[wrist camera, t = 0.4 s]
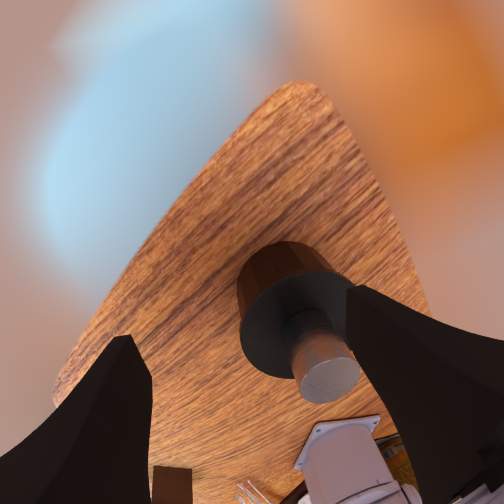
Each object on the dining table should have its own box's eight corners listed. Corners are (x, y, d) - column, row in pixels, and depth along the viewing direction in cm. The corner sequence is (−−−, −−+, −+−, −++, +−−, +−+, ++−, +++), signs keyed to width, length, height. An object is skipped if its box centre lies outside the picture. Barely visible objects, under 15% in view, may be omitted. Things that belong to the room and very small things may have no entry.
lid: (338, 366, 19) (368, 422, 14) (230, 365, 17) (239, 433, 13) (372, 268, 16) (423, 314, 12) (249, 255, 15) (267, 309, 10)
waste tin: (315, 327, 22) (338, 368, 18) (230, 322, 21) (237, 368, 17) (338, 247, 20) (371, 277, 16) (244, 235, 19) (255, 266, 15)
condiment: (397, 455, 34) (428, 514, 23) (347, 469, 33) (374, 536, 21) (417, 426, 31) (456, 490, 20) (364, 441, 30) (400, 517, 19)
